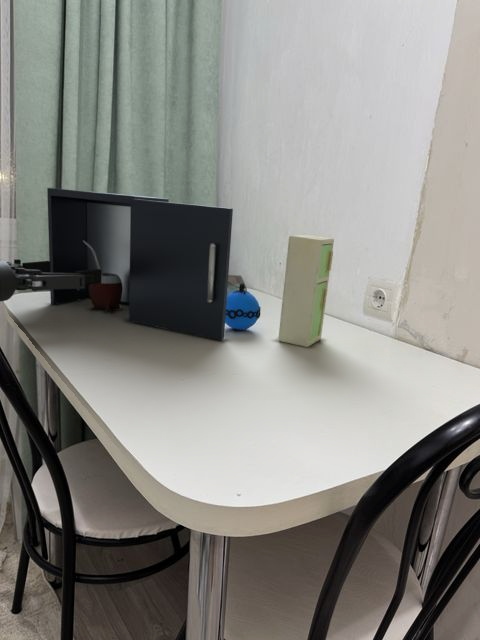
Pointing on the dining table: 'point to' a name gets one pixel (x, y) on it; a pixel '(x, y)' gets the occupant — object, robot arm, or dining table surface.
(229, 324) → the ornament
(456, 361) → the dining table surface
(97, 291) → the mate gourd
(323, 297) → the toy refrigerator
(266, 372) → the dining table surface
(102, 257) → the sliding door cabinet
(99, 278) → the robot arm
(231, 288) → the beverage carton
